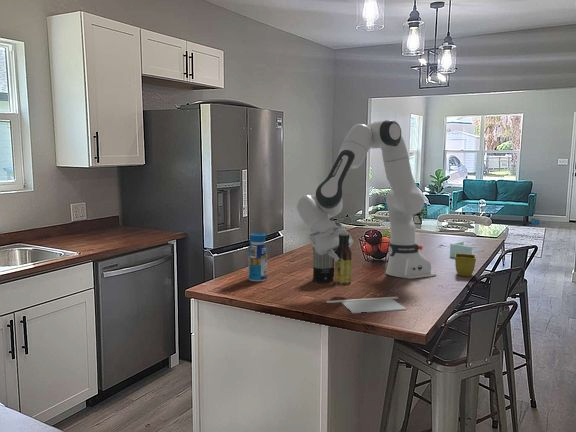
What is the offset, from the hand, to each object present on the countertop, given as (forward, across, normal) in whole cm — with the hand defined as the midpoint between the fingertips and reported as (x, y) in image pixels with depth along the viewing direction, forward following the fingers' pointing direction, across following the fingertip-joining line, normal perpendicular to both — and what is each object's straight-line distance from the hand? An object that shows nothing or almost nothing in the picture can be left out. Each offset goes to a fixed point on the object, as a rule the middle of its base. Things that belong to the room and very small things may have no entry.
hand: (344, 258), depth 190 cm
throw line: (+16, 0, +5) cm, 17 cm away
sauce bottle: (+7, 0, +8) cm, 11 cm away
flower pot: (+26, +64, -3) cm, 70 cm away
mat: (+21, -4, 0) cm, 22 cm away
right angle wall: (+16, +104, +8) cm, 105 cm away
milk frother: (-6, +16, +27) cm, 32 cm away
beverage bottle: (-20, -5, +40) cm, 45 cm away
